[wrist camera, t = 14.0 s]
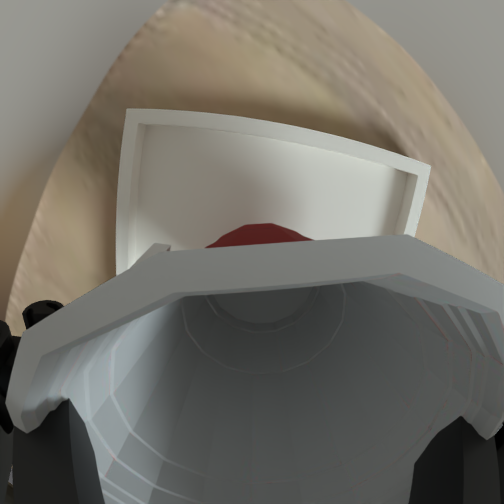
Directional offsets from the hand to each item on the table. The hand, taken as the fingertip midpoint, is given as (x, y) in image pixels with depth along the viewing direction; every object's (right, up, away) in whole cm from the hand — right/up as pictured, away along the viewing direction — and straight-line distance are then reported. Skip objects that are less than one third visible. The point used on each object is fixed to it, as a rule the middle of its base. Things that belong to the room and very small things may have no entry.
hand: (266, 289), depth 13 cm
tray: (-1, -4, +7) cm, 8 cm away
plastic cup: (0, +1, +2) cm, 2 cm away
